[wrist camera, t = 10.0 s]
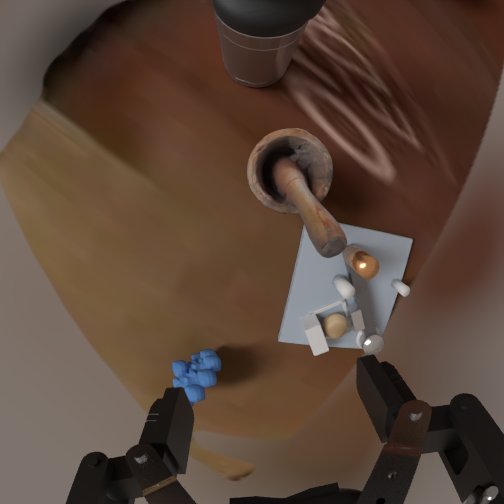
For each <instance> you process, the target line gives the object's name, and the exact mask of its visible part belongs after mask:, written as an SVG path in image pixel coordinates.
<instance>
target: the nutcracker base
mask: <svg viewBox="0 0 504 504" xmlns="http://www.w3.org/2000/svg"><path fill="white" fill-rule="evenodd" d="M338 224H339V225H340V227H341V228H342V230H343V231H344V233H345V236H346V238H347V245H349V244H352V243H354V244H355V245H356V246H358V247H359V248H361V249H362V250H364V251H365V252H367V253H368V254H369V255H371V256H372V257H374V258H375V259H376V260H377V261H378V262H379V266H380V268H379V272H378V274H377V275H376V276H375V277H374V278H372V279H368V280H367V279H366V284H367V288H368V293H369V297H370V302H371V307H372V311H373V316H374V321H375V327H376V331H377V332H378V333H379V335H380V336H381V337H382V336H383V333H384V331H385V328H386V325H387V323H388V320H389V317H390V314H391V311H392V308H393V306H394V303H395V300H396V296H397V293H398V292H399V293H400V294H401V295H402V296H404V297H405V296H407V295H409V293H410V288H409V287H408V286H407V285H405V284H404V283H403V282H401V281H402V277H403V274H404V271H405V267H406V264H407V260H408V256H409V253H410V249H411V245H412V241H413V239H411V238H408V237H403V236H399V235H395V234H390V233H386V232H381V231H377V230H372V229H368V228H363V227H358V226H354V225H349V224H344V223H339V222H338ZM354 294H355V288H354V287H353V286H352V285H351V284H350V281H349V277H348V273H347V269H346V266H345V262H344V258H343V255H342V252H341V253H340V254H339V255H337V256H334V257H332V258H325V257H322V256H321V255H320V254H319V253H318V252H317V251H316V248H315V247H314V245H313V244H312V242H311V240H310V238H309V236H308V233H307V231H306V228H305V225H304V227H303V231H302V236H301V241H300V246H299V250H298V255H297V259H296V264H295V268H294V273H293V277H292V282H291V286H290V290H289V295H288V299H287V303H286V307H285V312H284V316H283V320H282V324H281V328H280V332H279V336H278V340H279V342H287V343H297V344H307V345H310V346H311V349H312V351H313V354H314V356H316V355H319V354H321V353H324V352H326V351H329V348H328V346H330V347H343V348H359V349H363V348H362V347H361V345H360V343H359V339H360V336H361V335H362V331H359V332H356V333H355V331H354V330H353V328H352V327H351V325H350V322H349V318H348V314H347V310H346V305H348V304H351V303H353V302H355V301H354V297H353V296H354ZM331 313H339V314H342V315H343V316H344V317H345V318H346V320H347V322H348V329H347V331H346V333H345V334H344V335H343V336H342V337H340V338H337V339H332V338H329V337H328V336H326V335H325V334H324V332H323V329H322V323H323V320H324V319H325V317H326V316H328V315H329V314H331Z"/></svg>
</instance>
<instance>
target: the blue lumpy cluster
mask: <svg viewBox="0 0 504 504" xmlns="http://www.w3.org/2000/svg"><path fill="white" fill-rule="evenodd" d="M191 359H192V361H191V362H186V361H183V360H180V361H175V362H172V369H173V373H174V375H175V376H177V377H178V378H176V379H173V385H174V387H183V388H184V390H185V392H186V395H187V397H188V400H189V402H190V404H191V407H192V406H194V402H200V401H202V400H205V390H204V388H205V387H211V386H214V385H216V384H217V377H216V373H215V372H217V371H219V370H221V359H220V358H219V357H218V356H217V353H216V352H215V351H214V350H212V349H206V350H203V351H200V353H198V354H194V355H191Z"/></svg>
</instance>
